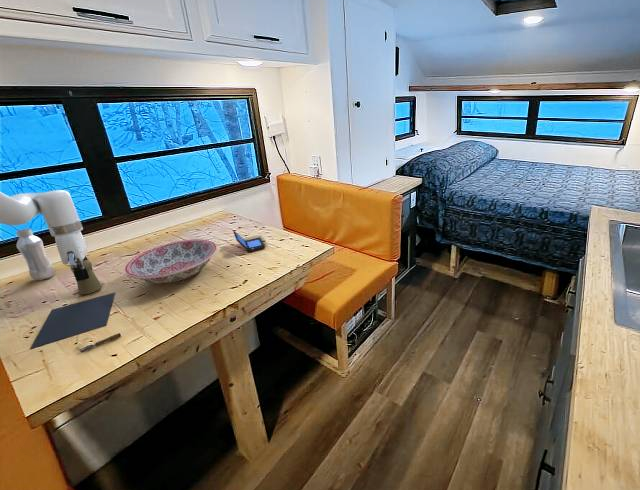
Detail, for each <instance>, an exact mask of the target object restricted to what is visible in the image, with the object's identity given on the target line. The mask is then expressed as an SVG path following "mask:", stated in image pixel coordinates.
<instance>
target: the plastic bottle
mask: <svg viewBox="0 0 640 490" xmlns="http://www.w3.org/2000/svg"><path fill="white" fill-rule="evenodd" d="M15 233H16V236H17V238H18V240H17V242H16V249H17V250H18V251H19V252H20V254H21V255H22V256H23V258H24V260H25V262H26V264H27V268H28V273H29V276H30V277H31V279H32V280H35V281H43V280H46V279H49V278H51V277H53V276H54V275H55V274H56V268H55V266H54V265H53V264H52V263H51V261H50V259H49V257H48V256H47V253H46V250H45V246H44V242H43V239H41V238H40V237H39V236H36V235H34V232H33V230H32V229H31V228H22V229H19V230H16V232H15Z"/></svg>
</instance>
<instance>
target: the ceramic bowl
mask: <svg viewBox="0 0 640 490" xmlns="http://www.w3.org/2000/svg"><path fill="white" fill-rule="evenodd" d="M217 249H218V245H217V244H216V243H215V242H213V241H211V240H208V239H199V238H198V239H197V238H196V239H195V238H194V239H185V240H184V239H183V240H178V241H173V242H168V243H165V244H162V245H158V246H156V247H153V248H150V249H148V250H146V251H143V252H141V253H139V254H138V255H136V256H134V257H133V258H132V259H130V260H129V261H128V262H127V263H126V264H125V267H124V273H125V274H126V275H127V276H128V277H130V278H133V279H139V280H141V281H144V282H147V283H149V284H150V283H151V284H169V283H175V282H179V281H182V280H185V279H188V278H190V277H192V276H194V275H196V274H197V273H199V272H200V271H201V270H202V269H204V268H205V266H206V265H207V264H209V261H210V260H211V258H212V257H213V256H214V255H215V254H216V252H217Z"/></svg>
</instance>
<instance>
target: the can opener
mask: <svg viewBox="0 0 640 490" xmlns="http://www.w3.org/2000/svg"><path fill="white" fill-rule="evenodd" d="M120 337H122V335H121V333H120V332H118V333H116V334H112V335H110V336H108V337H106V338H104V339H101V340H99V341H97V342H95V343H94V344H88V345H86V346H84V347H82V348H80V349H78V350H77V351H78V352H79V351H80V352H81V353H84V352H85V351H86V350H90V349H92V348H94V347H98V346H101V345H103V344H105V343H108V342H112V341H114V340H117V339H118V338H119V339H120Z"/></svg>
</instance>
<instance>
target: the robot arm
mask: <svg viewBox="0 0 640 490" xmlns="http://www.w3.org/2000/svg"><path fill="white" fill-rule="evenodd" d="M38 215H42V217H43V219H44V222H45V224H46V226H47V228H48V231H49V233H50V235H51V237H54V241H55V245H56V248H57V252H58V254H59V258H60V261H61V263H62V265H68V264H69V268H70V269H71V268H72V270H71V272H72V271H73V272H72V273H73V276H74V278H75V281H76V282H77V281H81V280H85V279H88V278H89V275H88V272H87V270H86V268H84V265H83V261H82V260H88V261H90V260H89V256H88V255H87V254H88V251H89V250H88V249H89V248H88V246H87V243H86V241H85V238H84V236H83V234H82V232H81V231H83V230H84V227H83V224H82V222H81V219H80V217H79V214H78V211H77V209H76V206H75V203H74V201H73V198H72V196H71V193H70V192H69V191H67V190H65V189H55V190H50V191H49V190H48V191H45V192H23V193H16V194H13V195H11V196H9V195H7V194H5V193H3V192H2V191H0V224H2V225H5V226H20V225H24V224H26V223H28V222H30V221H31V220H32V219H33V218H34V217H36V216H38ZM78 262H79V263H80V265H79V264H76V263H78ZM91 269H92V271H94V270H93V267H92V268H91Z"/></svg>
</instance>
